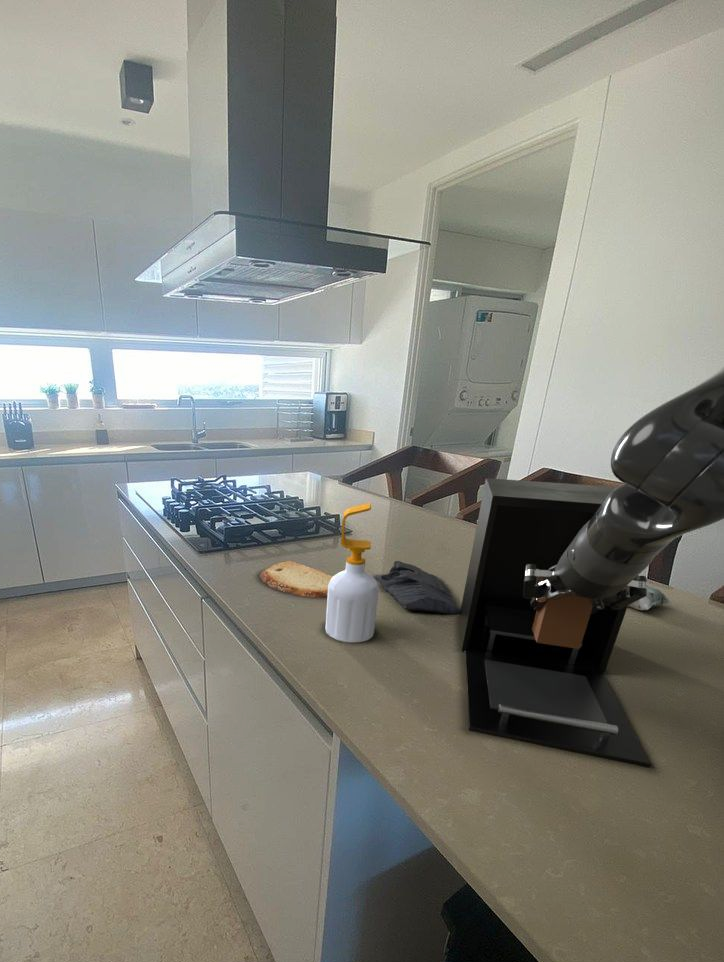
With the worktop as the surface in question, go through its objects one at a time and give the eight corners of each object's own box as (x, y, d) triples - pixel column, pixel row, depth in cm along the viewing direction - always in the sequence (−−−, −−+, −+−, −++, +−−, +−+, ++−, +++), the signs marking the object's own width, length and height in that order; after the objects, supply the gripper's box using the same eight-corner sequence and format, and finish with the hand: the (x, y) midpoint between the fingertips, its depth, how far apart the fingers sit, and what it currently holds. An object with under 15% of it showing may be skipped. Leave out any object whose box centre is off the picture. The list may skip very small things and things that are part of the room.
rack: (562, 635, 90) (568, 616, 89) (575, 665, 81) (582, 644, 79) (482, 623, 94) (486, 605, 93) (485, 650, 85) (490, 630, 83)
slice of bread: (349, 598, 107) (350, 582, 105) (268, 602, 104) (268, 586, 103) (328, 569, 123) (329, 555, 121) (257, 572, 120) (258, 558, 119)
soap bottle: (373, 647, 87) (389, 512, 77) (323, 642, 89) (332, 509, 79) (373, 625, 95) (387, 500, 85) (327, 620, 97) (335, 497, 87)
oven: (580, 634, 93) (625, 487, 82) (652, 772, 60) (746, 558, 48) (459, 616, 99) (486, 478, 88) (464, 733, 66) (508, 534, 55)
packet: (572, 634, 72) (587, 584, 68) (579, 649, 68) (596, 596, 65) (531, 629, 73) (544, 579, 70) (536, 642, 69) (550, 591, 66)
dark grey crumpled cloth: (392, 616, 99) (395, 595, 97) (372, 577, 119) (374, 558, 117) (467, 618, 99) (472, 596, 97) (435, 578, 119) (438, 559, 117)
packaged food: (645, 619, 100) (653, 597, 98) (588, 598, 109) (594, 577, 107) (667, 611, 103) (675, 590, 101) (610, 592, 113) (617, 572, 111)
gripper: (680, 531, 54) (616, 590, 70) (538, 520, 58) (507, 578, 74) (683, 593, 52) (616, 639, 67) (535, 576, 56) (503, 624, 71)
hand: (559, 607), depth 70 cm, fingers closed on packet, 5 cm apart
